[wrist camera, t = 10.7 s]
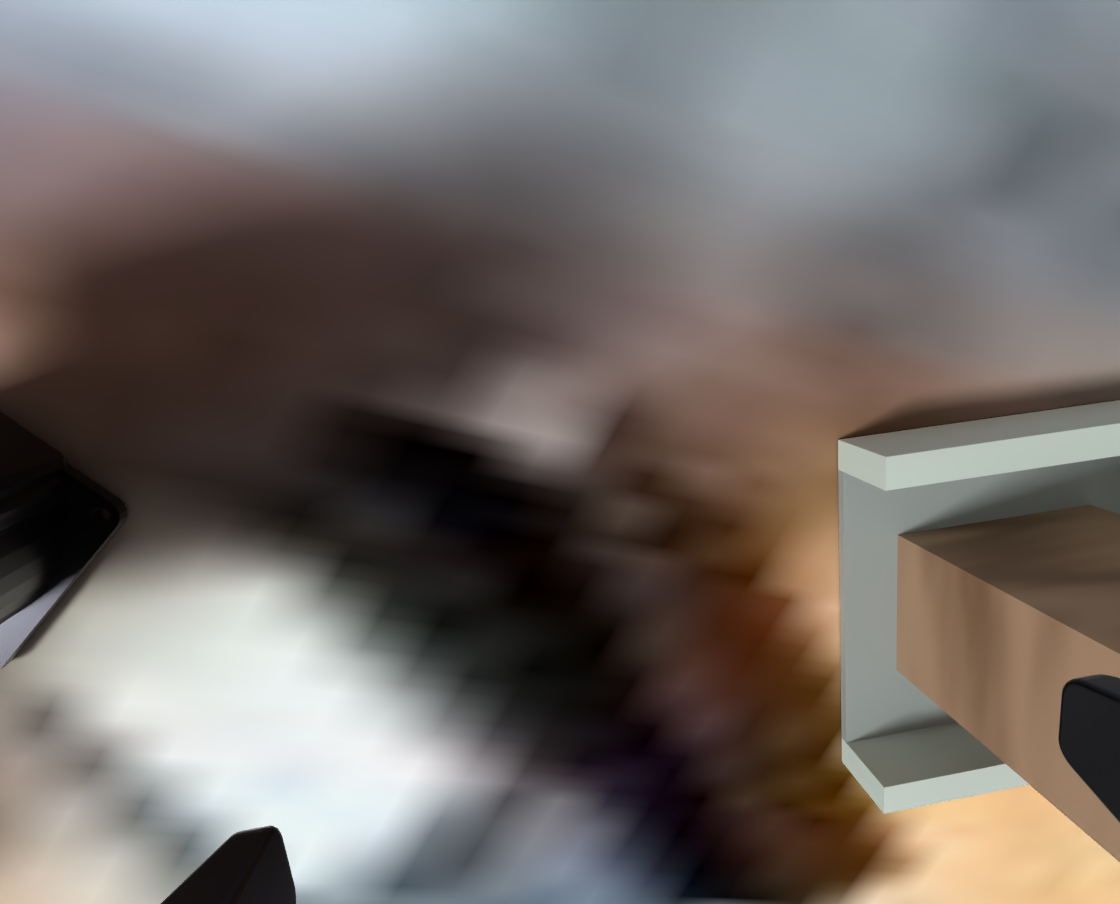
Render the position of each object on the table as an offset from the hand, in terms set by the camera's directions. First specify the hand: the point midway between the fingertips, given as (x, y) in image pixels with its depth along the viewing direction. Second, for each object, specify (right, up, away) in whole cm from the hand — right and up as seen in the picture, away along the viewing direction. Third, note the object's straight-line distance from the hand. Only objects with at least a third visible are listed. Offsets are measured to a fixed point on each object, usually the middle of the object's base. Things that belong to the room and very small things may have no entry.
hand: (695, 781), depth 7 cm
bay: (+13, -1, +15) cm, 20 cm away
